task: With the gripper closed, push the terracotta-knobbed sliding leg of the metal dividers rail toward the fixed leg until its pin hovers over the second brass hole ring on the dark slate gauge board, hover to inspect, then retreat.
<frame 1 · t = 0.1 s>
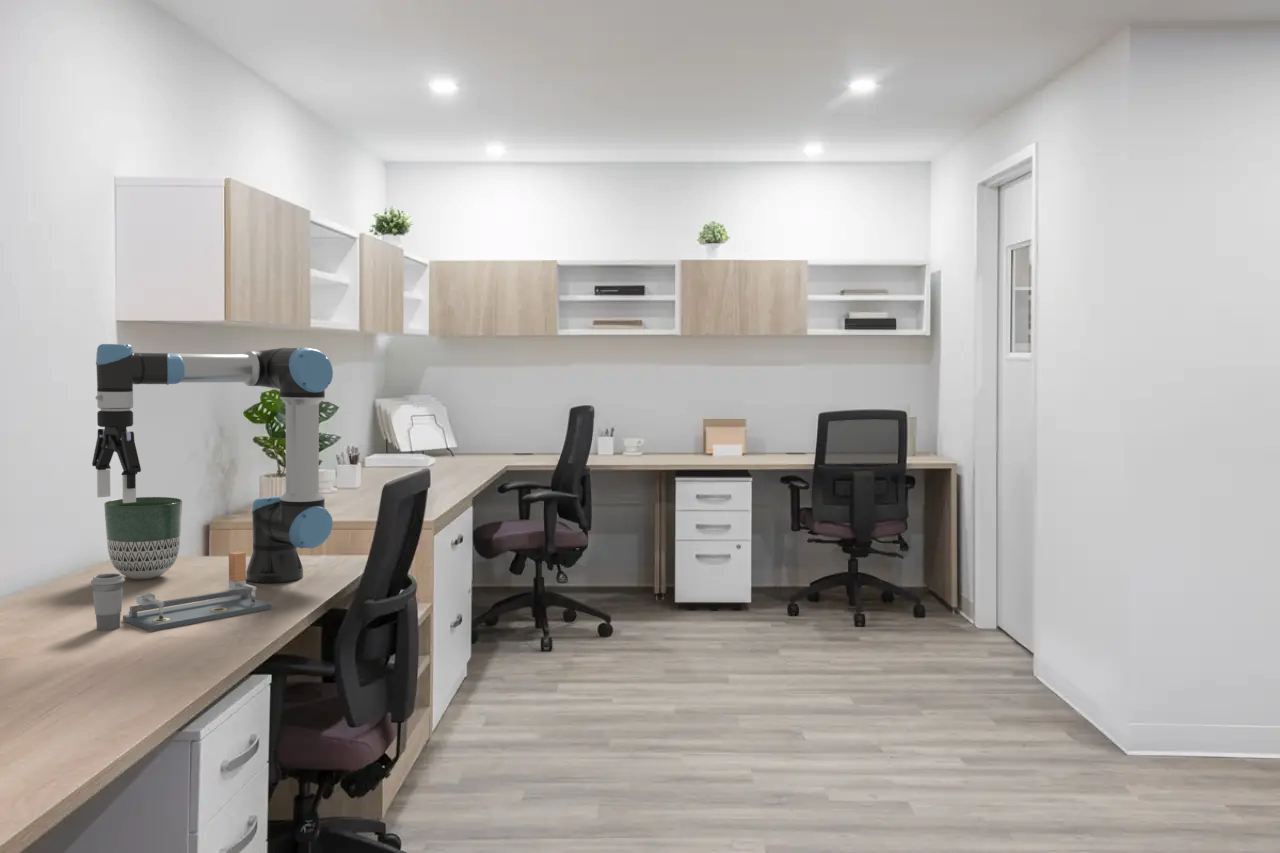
hand: (116, 499, 246), 28 cm above the table, fingers open, 13 cm apart
planter: (144, 578, 290), on the table
sliding leg: (244, 576, 260), point 7 cm above the table, slide at 0.0 cm
gauge board: (199, 614, 251), on the table
cup: (108, 628, 237), on the table
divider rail: (191, 611, 253), resting on gauge board
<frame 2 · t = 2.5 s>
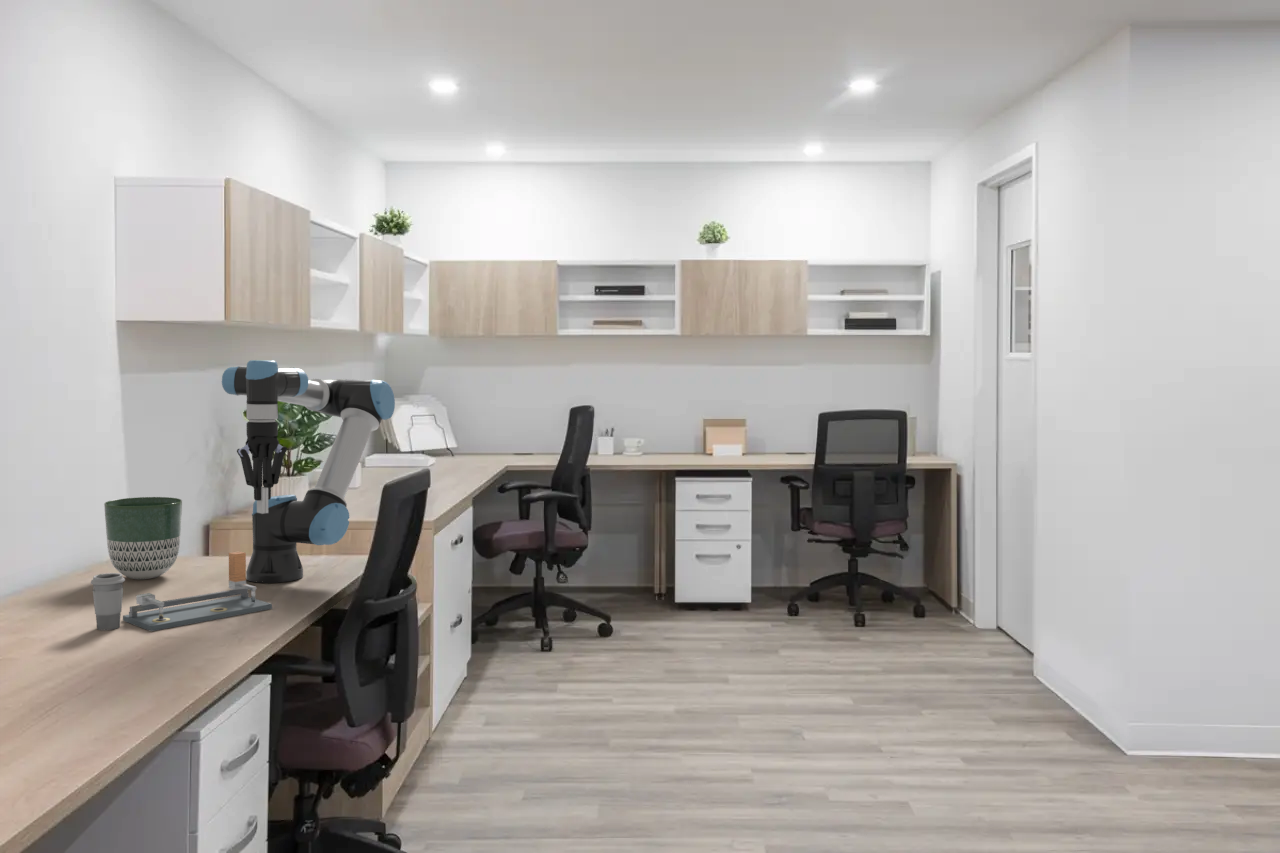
hand: (262, 512, 267), 22 cm above the table, fingers closed
nothing on the table moved.
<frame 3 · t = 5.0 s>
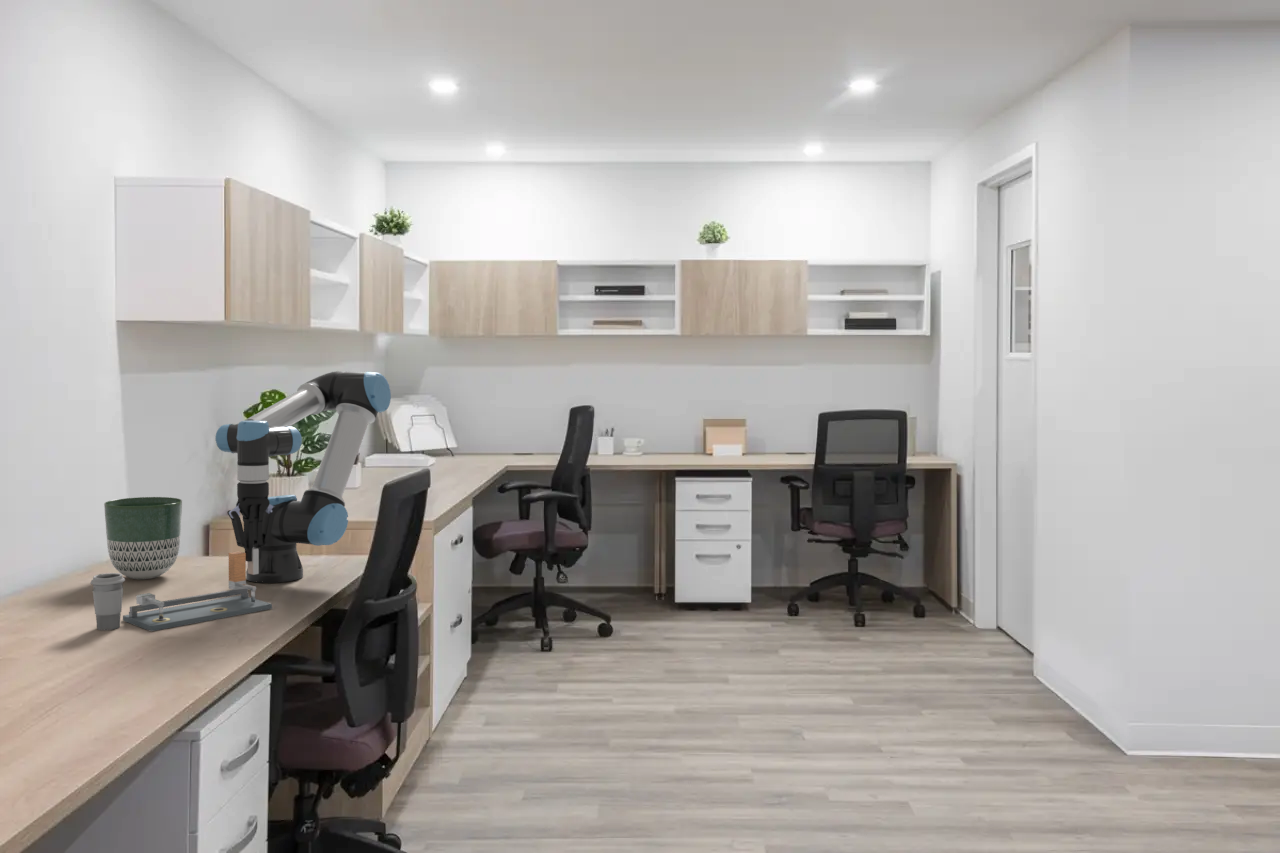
hand: (253, 573, 265), 7 cm above the table, fingers closed
sliding leg: (244, 576, 260), point 7 cm above the table, slide at 0.1 cm, touching gripper
everything else where it was.
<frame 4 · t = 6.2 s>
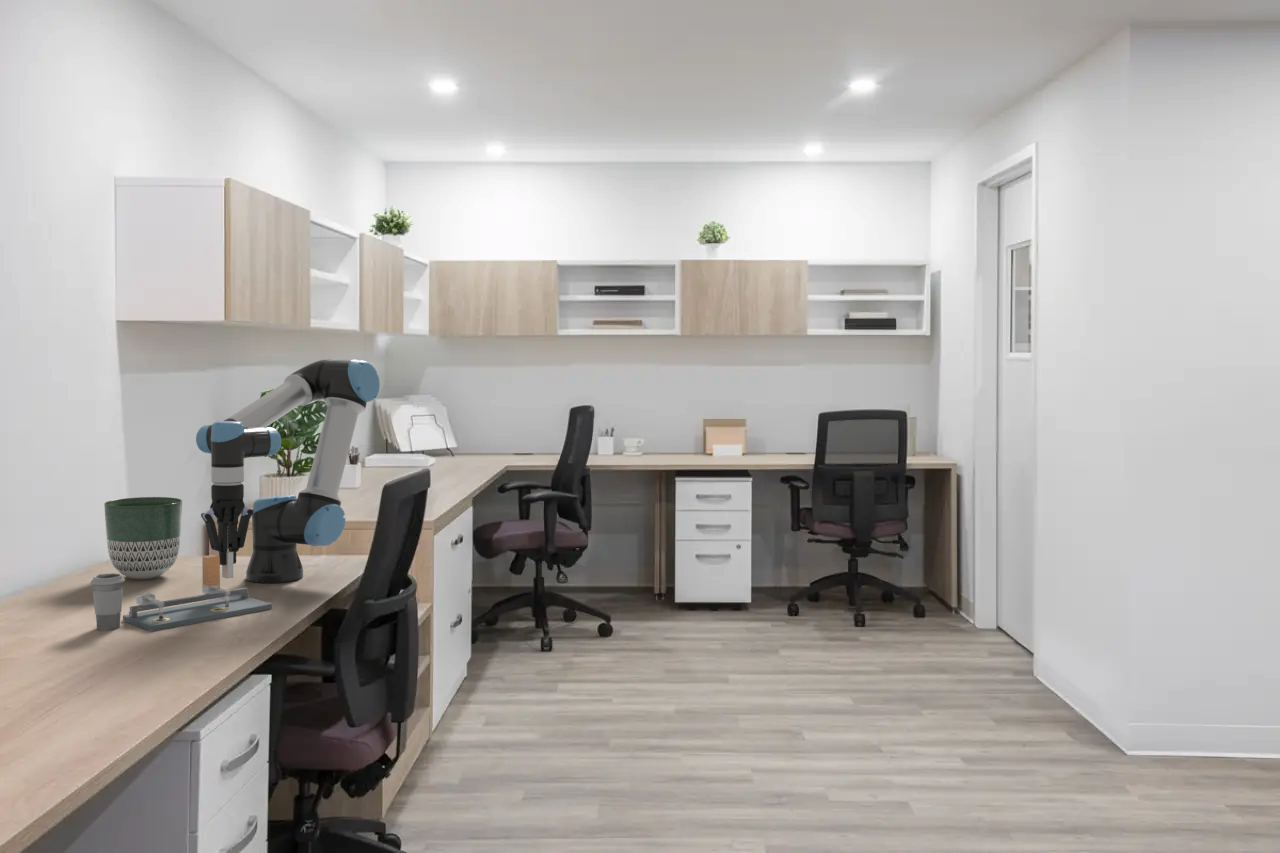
hand: (227, 577, 260), 7 cm above the table, fingers closed
sliding leg: (217, 581, 255), point 7 cm above the table, slide at 6.9 cm, touching gripper
everything else where it was.
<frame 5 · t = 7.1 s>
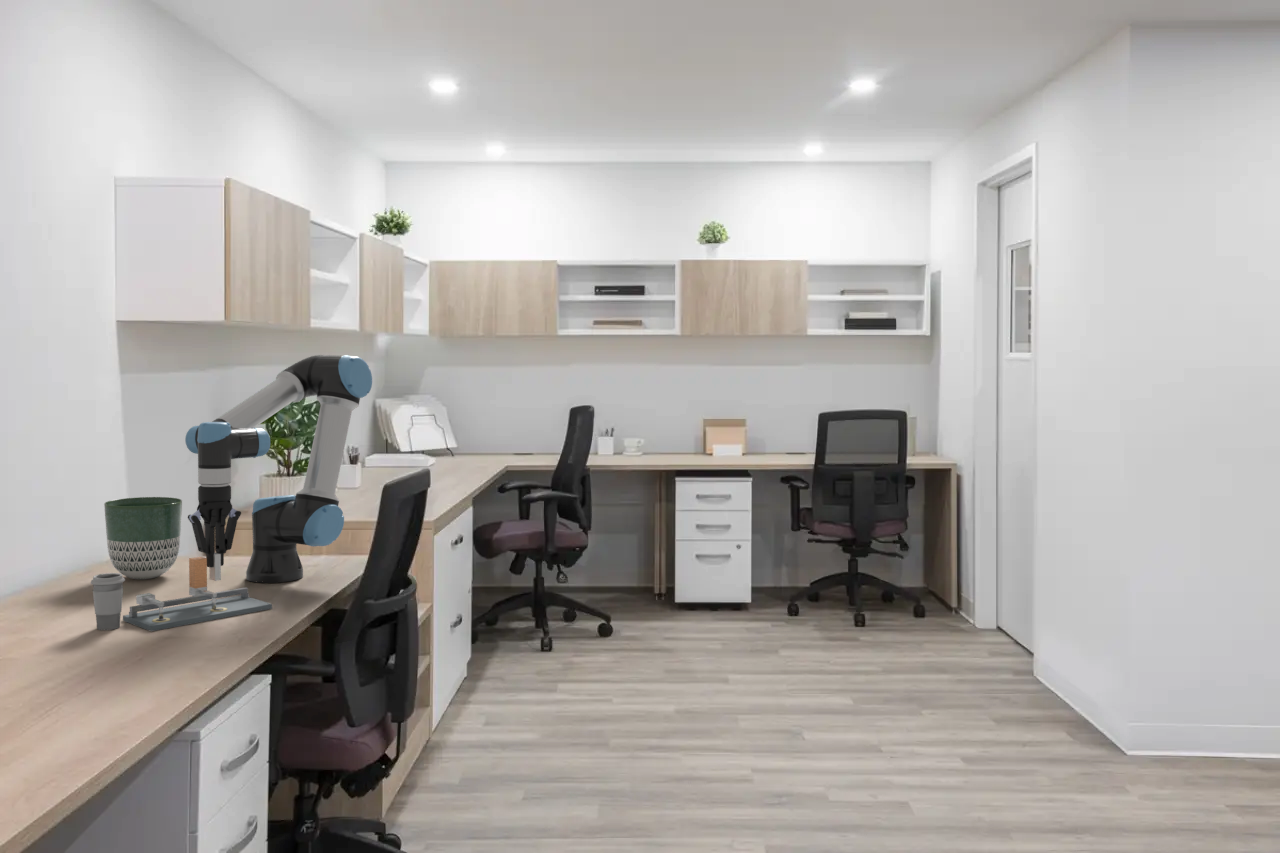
hand: (215, 579, 258), 7 cm above the table, fingers closed
sliding leg: (204, 583, 252), point 7 cm above the table, slide at 10.2 cm, touching gripper
everything else where it was.
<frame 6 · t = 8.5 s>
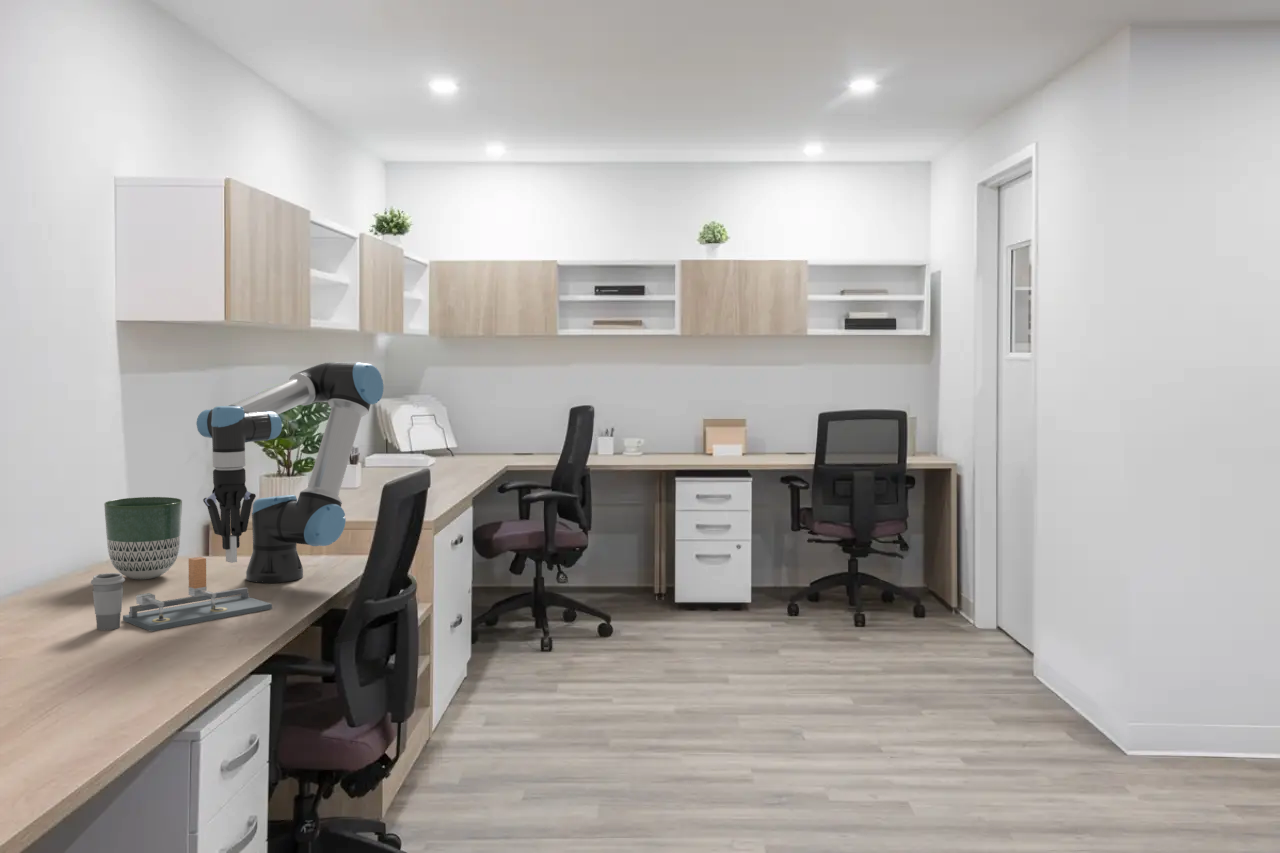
hand: (231, 561, 261), 11 cm above the table, fingers closed
sliding leg: (204, 583, 252), point 7 cm above the table, slide at 10.4 cm
everything else where it was.
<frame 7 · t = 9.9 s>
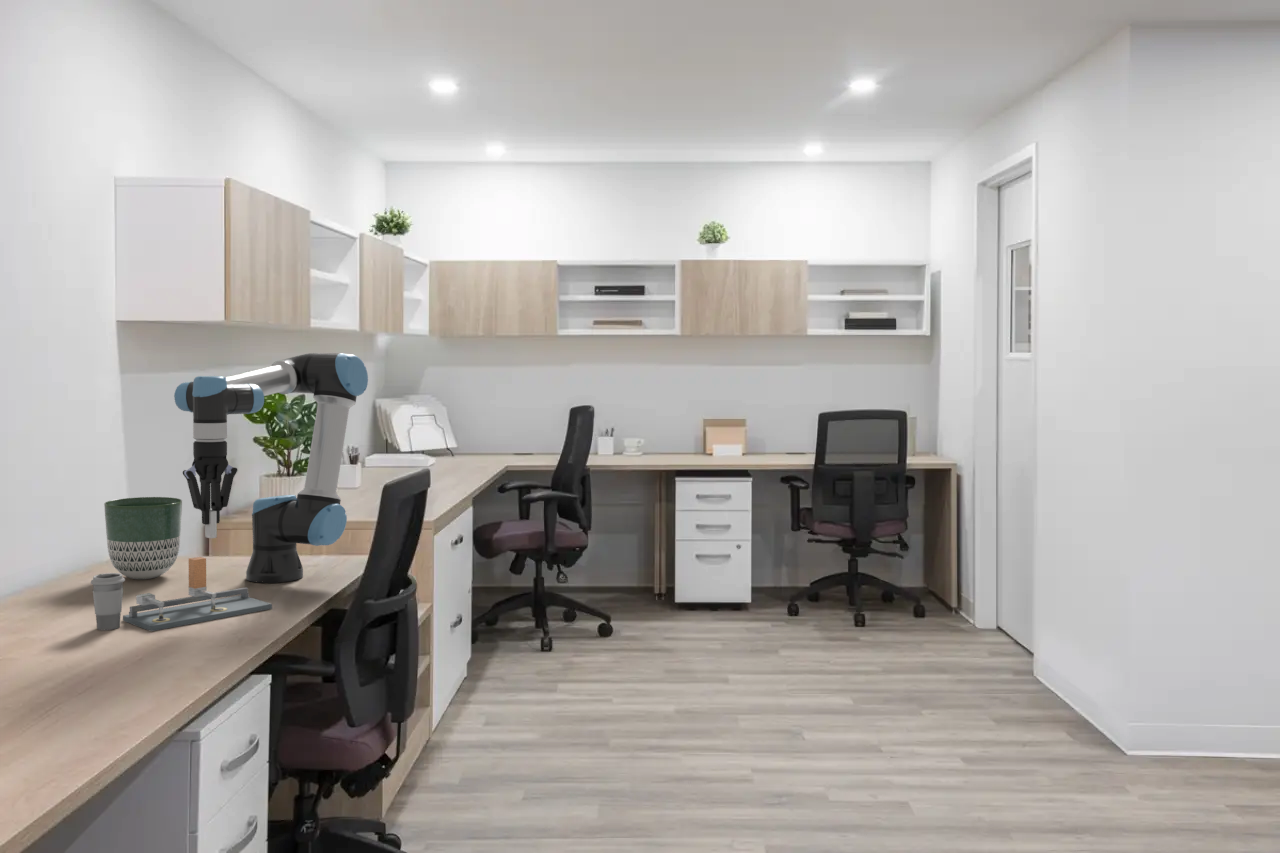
hand: (210, 537, 252), 18 cm above the table, fingers closed
nothing on the table moved.
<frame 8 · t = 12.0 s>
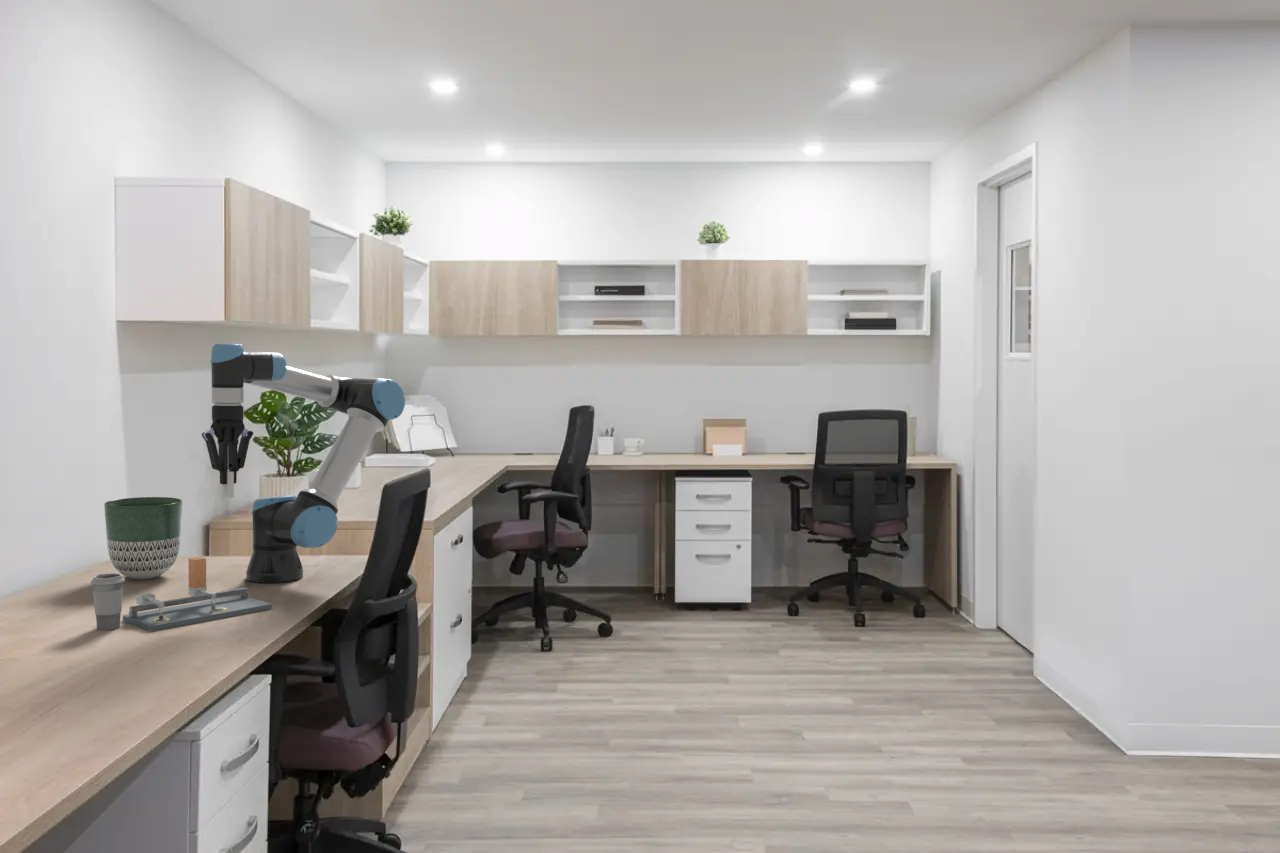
hand: (228, 496, 266), 26 cm above the table, fingers closed
nothing on the table moved.
at the end: sliding leg slide at 10.4 cm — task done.
